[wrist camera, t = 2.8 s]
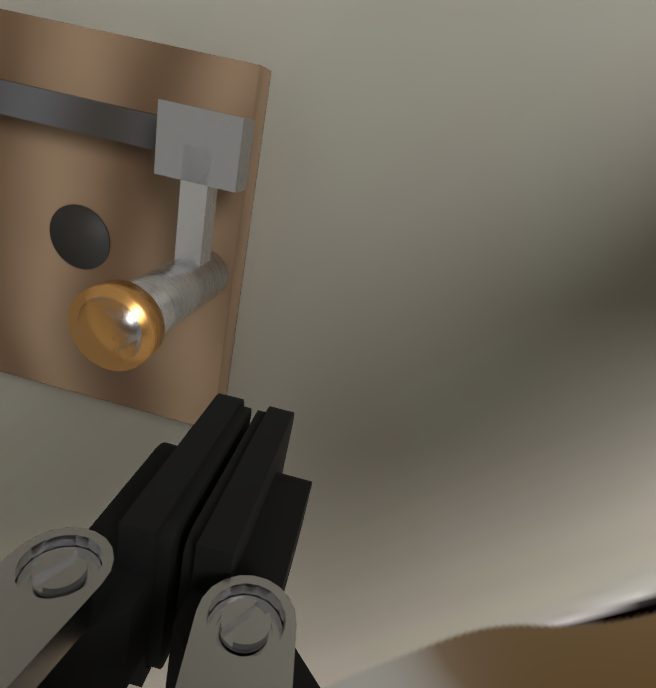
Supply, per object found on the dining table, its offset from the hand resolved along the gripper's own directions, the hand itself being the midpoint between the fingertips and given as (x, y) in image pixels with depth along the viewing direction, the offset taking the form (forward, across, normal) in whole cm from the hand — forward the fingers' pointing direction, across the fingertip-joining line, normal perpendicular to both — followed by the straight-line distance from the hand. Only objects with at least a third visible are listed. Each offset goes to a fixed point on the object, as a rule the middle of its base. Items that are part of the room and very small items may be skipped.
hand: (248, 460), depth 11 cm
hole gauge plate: (+13, +15, 0) cm, 20 cm away
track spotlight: (+11, +5, -3) cm, 12 cm away
